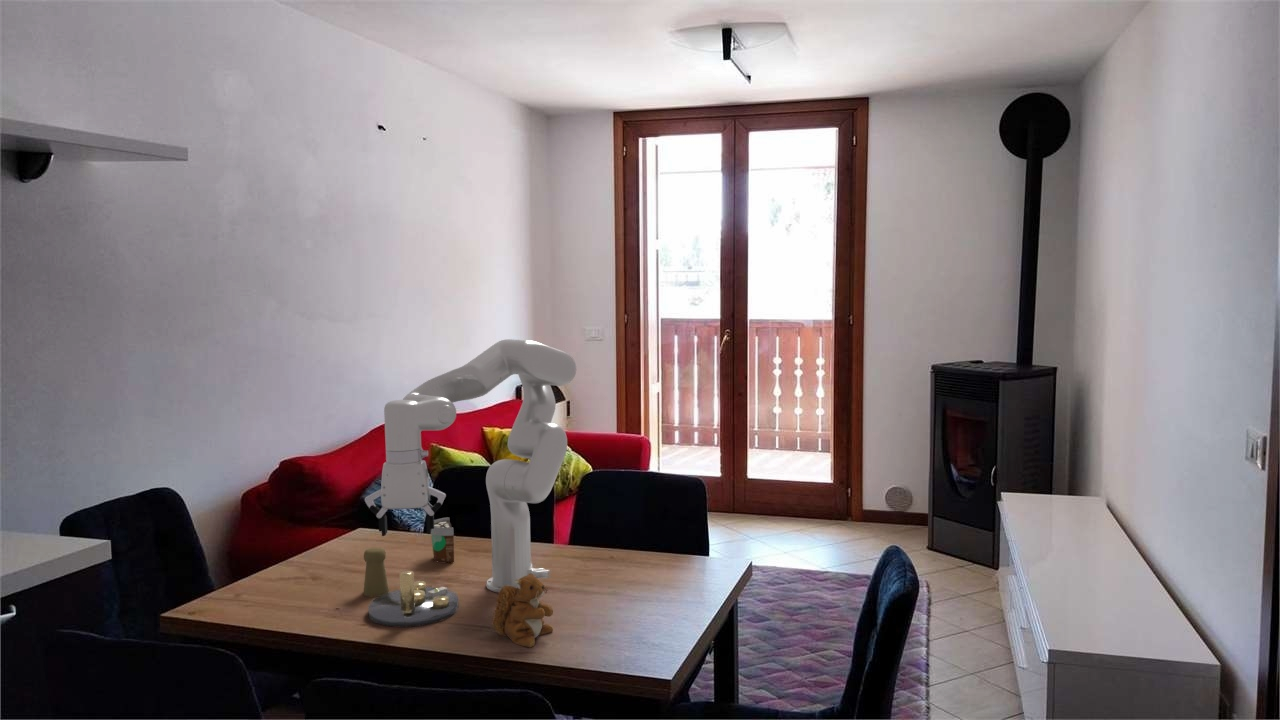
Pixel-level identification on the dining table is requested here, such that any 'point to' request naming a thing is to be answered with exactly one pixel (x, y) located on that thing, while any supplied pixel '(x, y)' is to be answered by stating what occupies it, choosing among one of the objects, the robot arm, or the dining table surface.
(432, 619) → the base
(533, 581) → the stuffed squirrel
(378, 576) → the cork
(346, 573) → the dining table surface
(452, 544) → the food container
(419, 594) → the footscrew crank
